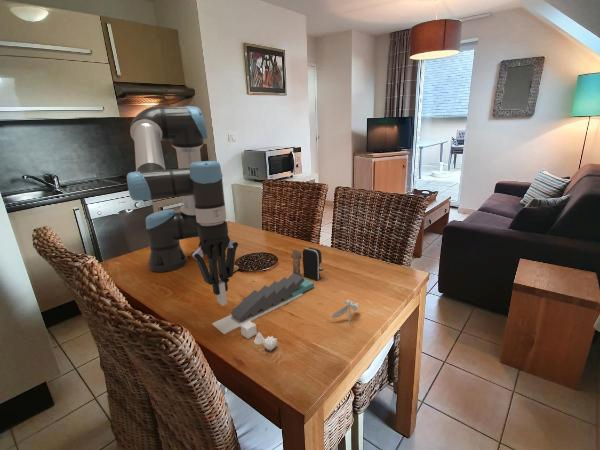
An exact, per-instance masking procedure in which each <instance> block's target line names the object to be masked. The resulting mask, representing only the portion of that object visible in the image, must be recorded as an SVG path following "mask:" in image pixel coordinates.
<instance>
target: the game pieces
mask: <svg viewBox="0 0 600 450" xmlns="http://www.w3.org/2000/svg"><path fill="white" fill-rule="evenodd" d="M239 328H240V334H241V336H242V337H244V338H246V339H247V340H249V339H251V338H252V337H254V336H255V337H254V340H253V342H254V344H255V345H261V344H263V347H264V348H265V349H267V351H269V352H271V351H272V350H273V349H276V347H277V345H278V338H275V337H274V335H271V336H270V335H267V337H266V338H264V336H263V334H262V333H261V332H259V331H257V324H256V323H254V322H253V321H247V322H246V323H244V324H242V325H241V326H240V327H239Z"/></svg>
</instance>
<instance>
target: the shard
mask: <svg viewBox="0 0 600 450" xmlns="http://www.w3.org/2000/svg"><path fill="white" fill-rule="evenodd" d="M238 269H240V267H239V266H238V265H236V264H234V270H233V273H234V272H236V271H239V270H238Z"/></svg>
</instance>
